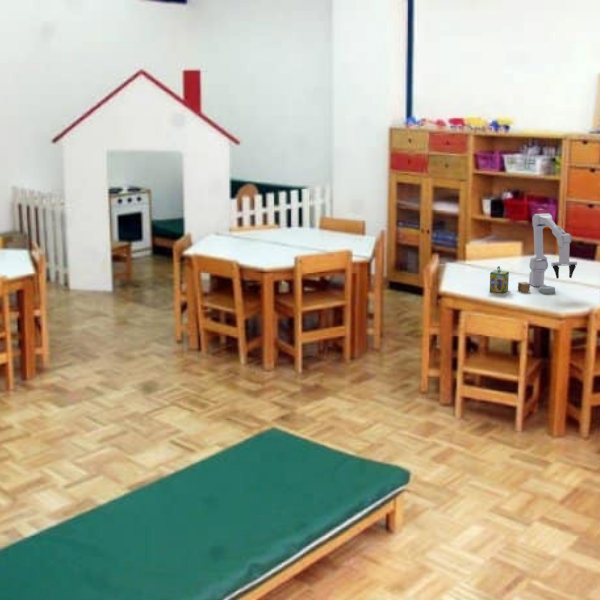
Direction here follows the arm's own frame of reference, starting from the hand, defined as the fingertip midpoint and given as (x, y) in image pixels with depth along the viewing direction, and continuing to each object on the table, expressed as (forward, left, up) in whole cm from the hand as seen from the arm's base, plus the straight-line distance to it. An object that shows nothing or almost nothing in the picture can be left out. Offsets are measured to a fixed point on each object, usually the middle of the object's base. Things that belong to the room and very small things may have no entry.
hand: (564, 278), depth 510 cm
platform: (-9, -6, -11) cm, 15 cm away
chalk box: (-19, -32, -11) cm, 38 cm away
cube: (-15, -18, -10) cm, 25 cm away
